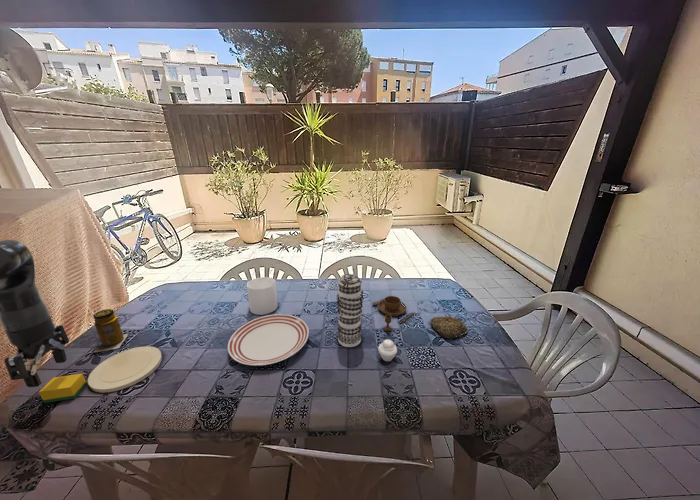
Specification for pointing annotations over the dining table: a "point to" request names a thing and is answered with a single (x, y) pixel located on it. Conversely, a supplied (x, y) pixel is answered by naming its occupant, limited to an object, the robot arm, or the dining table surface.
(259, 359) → the dinner plate
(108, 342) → the condiment
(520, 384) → the dining table surface
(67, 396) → the sponge
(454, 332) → the mossy brown rock
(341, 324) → the decorative candle
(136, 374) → the side plate
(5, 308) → the robot arm
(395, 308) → the place setting
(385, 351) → the white lidded jar
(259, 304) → the cup
